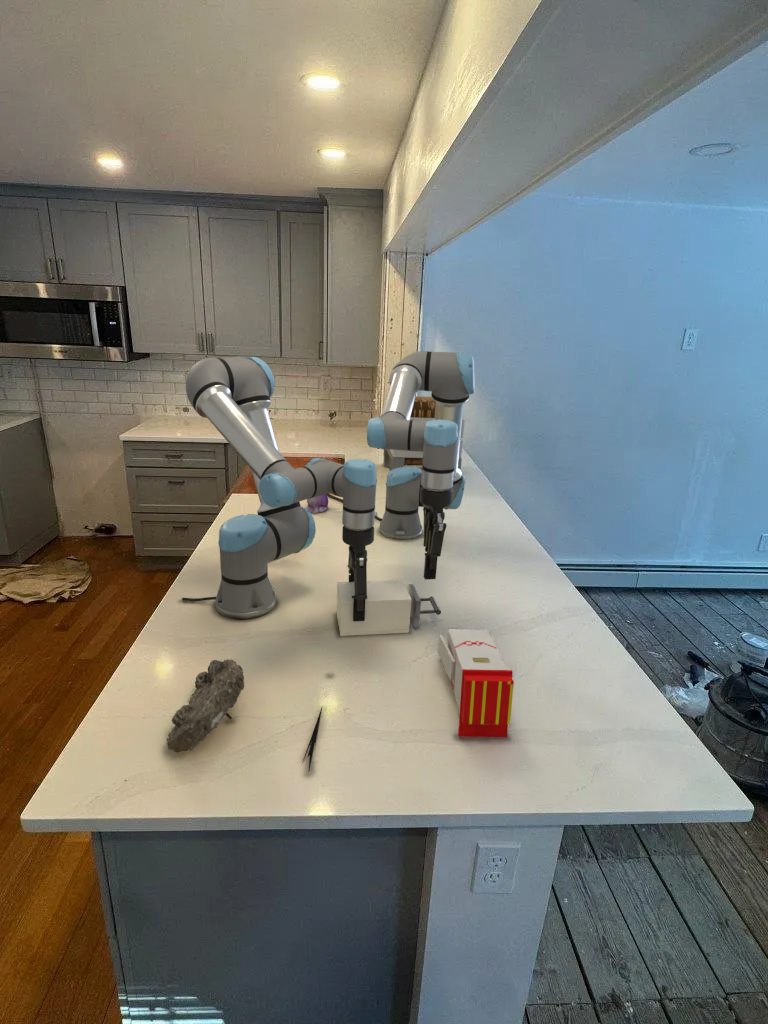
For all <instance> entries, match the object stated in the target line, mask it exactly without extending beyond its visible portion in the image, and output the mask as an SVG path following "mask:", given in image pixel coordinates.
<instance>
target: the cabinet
mask: <svg viewBox="0 0 768 1024" xmlns="http://www.w3.org/2000/svg"><path fill="white" fill-rule="evenodd" d="M354 595H355V588H354V582H349V581H338V582H337V583H336V619H337V625H338V630H339V637H348V636H349V637H350V636H367V635H369V636H370V635H385V634H386V635H387V634H405V633H407V634H408V633H410V626H411V625H410V624H411V618H410V612H411V597H410V595H409V593H408V589H407V586H406V583H405V581H404V580H403V579H391V580H367V599H365V621H354V622H353V603H354V598H353V599H352V596H354Z"/></svg>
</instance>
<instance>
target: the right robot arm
mask: <svg viewBox="0 0 768 1024" xmlns="http://www.w3.org/2000/svg"><path fill="white" fill-rule="evenodd" d="M474 360H475V359H474V357H473V355H471V354H470V353H463V352H459V351H458V352H451V351H428V350H419V351H416V352H413V353H410V354H407V355H406V356H403V358H402V359H400V360H399V361H398V362H397V363H396V364H394V366H393V368H392V370H391V372H390V373H389V377H388V378H389V379H388V382H389V385H390V386H389V389H388V392H387V395H386V398H385V401H384V404H383V407H382V411H381V413H380V416H378V417H372V418H370V419H369V420H368V422H367V427H366V443H367V445H368V447H370V448H372V449H378V450H379V449H381V450H384V449H390V450H406V451H418V452H423V465H422V466H421V468H420V467H419V466H418V467H417V466H404V467H400V468H396V469H393V470H391V471H390V470H389V471H388V473H387V475H386V482H385V487H386V488H385V504H384V505H385V507H384V508H385V509H384V513H383V515H382V517H378V515H377V516H374V518H375V519H376V520H377V521H379V527H378V533H379V534H380V535H381V536H382V537H385V538H387V539H389V540H395V541H410V540H415V539H418V538H420V537H421V536H422V535H423V544H422V545H423V547H424V566H423V568H424V570H423V578H424V580H425V581H426V580H436V579H437V568H438V557H441V555H442V551H443V544H444V539H445V532H446V529H447V527H448V526H447V523H446V522H444V520H445V517H446V513H445V512H444V510H457V509H459V508H460V506H461V504H462V502H463V501H462V500H463V496H464V493H465V492H464V491H465V486H466V477H465V476H463V473H462V469H461V470H460V469H459V468H458V459H459V448H460V439H461V438H460V437H461V426H462V419H463V414H464V404H466V402H468V401H469V400H470V395H474V394H475V389H476V388H475V361H474ZM421 391H422V392H431V394H430V395H431V396H430V397H432V399H433V400H434V401H435V402H436V408H435V420H431V421H413V420H410V416H411V412H412V408H413V403H414V399H415V397H416V394H417V393H418V392H421ZM327 496H328V498H331V499H334V500H336V501H339V502H342V503H343V498H341V497H338V496H335V495H332V494H327ZM420 507H421V508H422V507H423V508H422V511H423V525H422V524H421V518H420V515H419V508H420Z"/></svg>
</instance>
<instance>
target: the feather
mask: <svg viewBox="0 0 768 1024" xmlns="http://www.w3.org/2000/svg"><path fill="white" fill-rule="evenodd" d="M329 675H330V676H331V675H332V674H331V673H330V674H329ZM322 710H323V707H321V708H320V710H319V713H318V716H317V719H316V723H315V725H314V728H313V731H312V733H311V737H310V739H309V742H308V745H307V748H306V751H305V754H304V757H303V760H302V763H301V767H302V765H303V763H304V761H305V758H308V759H309V760H308V762H307V763H308V764H307V766H308V771H310V770H311V766H312V765H311V764H312V760H313V757H315V756H314V755H315V751H316V749H315V746H317V739H318V733H319V729H320V722H321V717H322V712H323V711H322ZM313 754H314V755H313ZM306 755H307V757H306Z"/></svg>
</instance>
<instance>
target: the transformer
mask: <svg viewBox="0 0 768 1024" xmlns="http://www.w3.org/2000/svg"><path fill="white" fill-rule="evenodd" d="M435 408H436V402H435V401H434V400H433V399H432V397H431V396H415V399H414V403H413V408H412V412H411V416H410V420H413V421H431V420H435ZM464 429H465V419H464V418H462V426H461V437H460V448H459V459H458V468H459V469H460V470H461V471H462V461H463V460H462V453H463V442H464V441H463V440H462V439H463V438H464V431H465V430H464ZM422 465H423V452H418V451H406V450H390V449H383V466H384V467H388V468H389V472H390V471H391V470H393V469H396V468H400V467H405V466H406V467H417V466H418V467H422Z"/></svg>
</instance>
